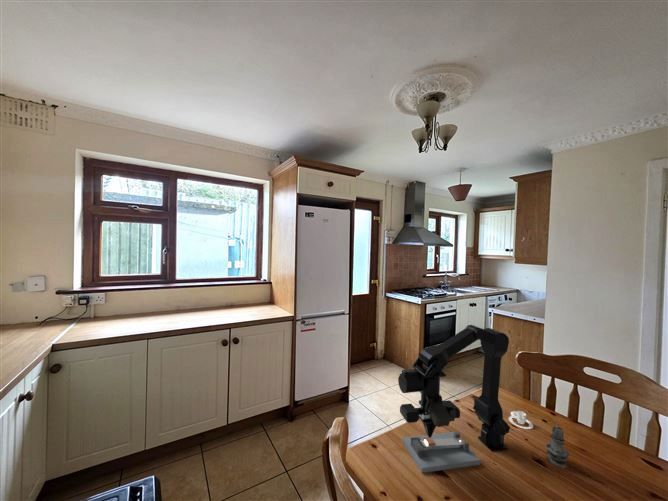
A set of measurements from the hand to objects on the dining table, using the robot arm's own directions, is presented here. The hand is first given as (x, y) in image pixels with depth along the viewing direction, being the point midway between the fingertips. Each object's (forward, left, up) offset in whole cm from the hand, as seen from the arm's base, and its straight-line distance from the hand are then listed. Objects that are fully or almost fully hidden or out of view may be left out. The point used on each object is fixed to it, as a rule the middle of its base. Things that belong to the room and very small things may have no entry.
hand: (429, 436), depth 87 cm
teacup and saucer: (-48, -10, -6) cm, 50 cm away
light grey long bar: (-5, 0, -4) cm, 6 cm away
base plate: (-4, 0, -6) cm, 7 cm away
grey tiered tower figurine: (-40, +9, -6) cm, 41 cm away
